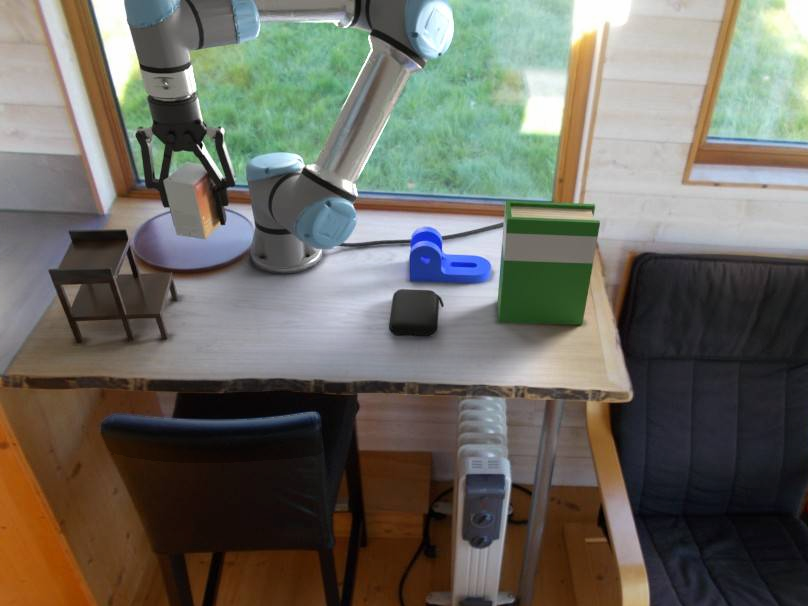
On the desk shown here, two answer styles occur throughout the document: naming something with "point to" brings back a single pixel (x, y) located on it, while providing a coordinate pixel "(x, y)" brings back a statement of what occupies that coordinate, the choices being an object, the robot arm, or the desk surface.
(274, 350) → the desk surface
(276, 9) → the robot arm
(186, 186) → the small box
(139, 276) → the rack
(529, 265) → the hardback book
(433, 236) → the bracket
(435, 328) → the carrying case
